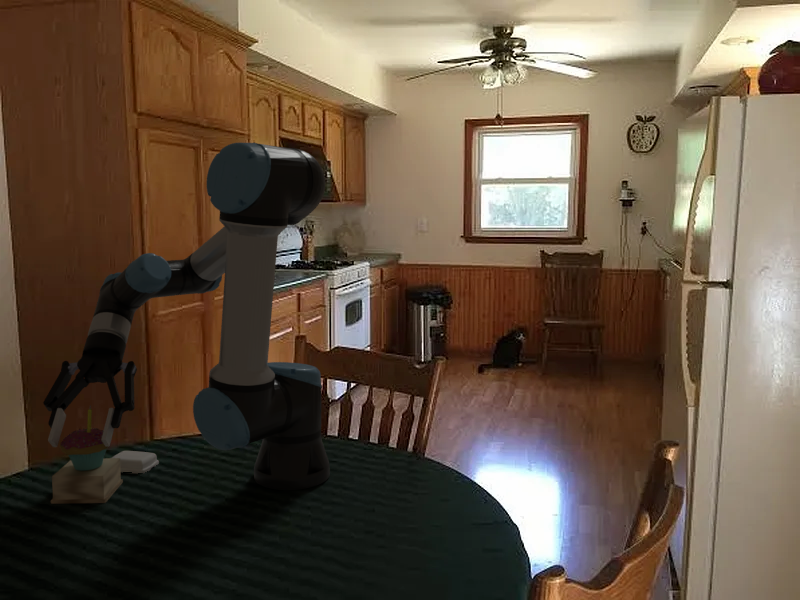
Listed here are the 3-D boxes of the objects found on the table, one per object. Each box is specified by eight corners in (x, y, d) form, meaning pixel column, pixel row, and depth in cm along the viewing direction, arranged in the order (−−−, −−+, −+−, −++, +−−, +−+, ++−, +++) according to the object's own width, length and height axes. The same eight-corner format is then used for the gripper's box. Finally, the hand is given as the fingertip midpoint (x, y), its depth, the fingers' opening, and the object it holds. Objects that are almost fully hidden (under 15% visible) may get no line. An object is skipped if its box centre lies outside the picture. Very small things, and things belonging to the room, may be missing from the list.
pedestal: (122, 482, 133) (122, 457, 132) (105, 502, 124) (104, 476, 123) (72, 482, 132) (71, 458, 132) (50, 503, 123) (49, 477, 122)
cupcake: (122, 462, 129) (117, 400, 128) (84, 477, 122) (79, 412, 120) (90, 456, 133) (85, 396, 132) (51, 471, 126) (46, 407, 124)
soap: (103, 472, 139) (103, 458, 139) (122, 460, 146) (122, 447, 145) (143, 475, 137) (143, 462, 137) (161, 464, 144) (161, 450, 144)
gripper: (165, 350, 141) (144, 451, 127) (58, 350, 139) (25, 453, 126) (157, 330, 135) (134, 433, 121) (45, 329, 134) (9, 434, 120)
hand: (79, 443), depth 123 cm, fingers open, 9 cm apart
